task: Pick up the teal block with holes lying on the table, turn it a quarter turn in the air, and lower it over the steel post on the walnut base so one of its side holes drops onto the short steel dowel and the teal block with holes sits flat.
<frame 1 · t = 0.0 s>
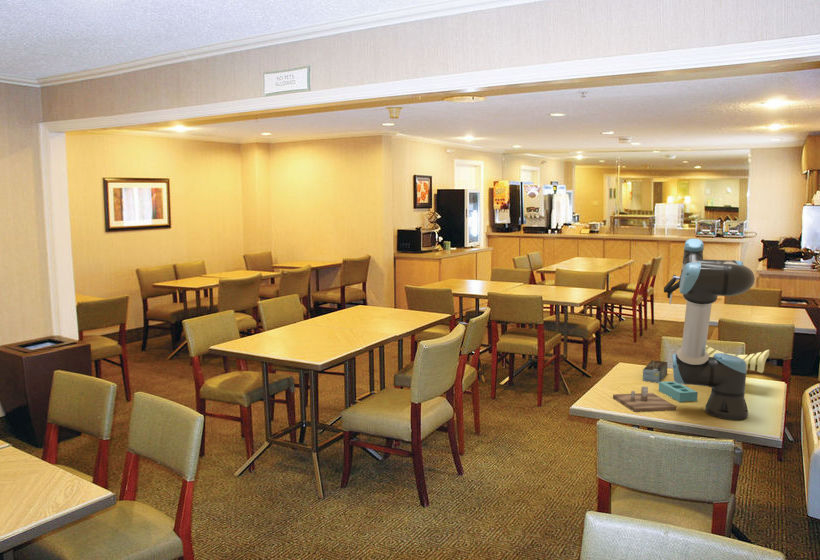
hand: (686, 303, 296), 36 cm above the table, tool tilted 35°, fingers open, 13 cm apart
post base: (643, 403, 262), on the table
teal block with holes: (677, 395, 274), on the table
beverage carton: (655, 378, 302), on the table
slatted curved stool: (725, 386, 289), on the table
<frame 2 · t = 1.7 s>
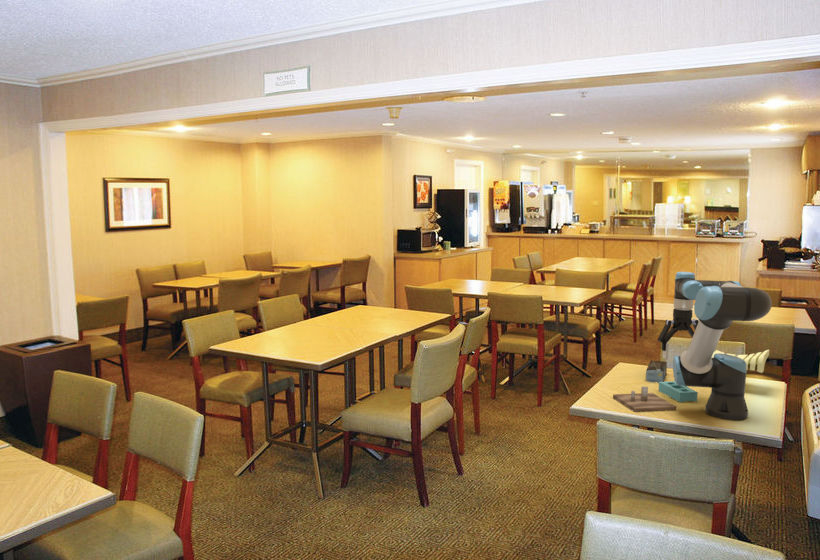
hand: (679, 357, 272), 17 cm above the table, tool pointing down, fingers open, 13 cm apart
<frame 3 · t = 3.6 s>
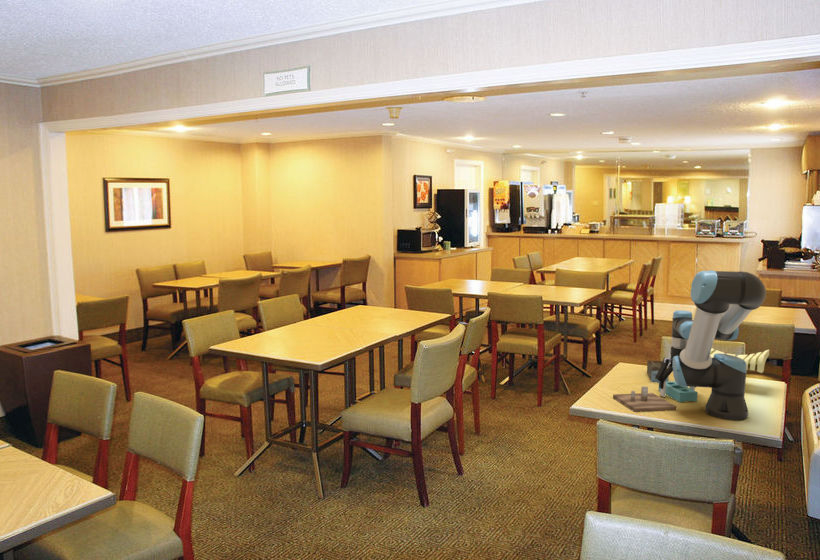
hand: (677, 395, 274), 0 cm above the table, tool pointing down, fingers open, 13 cm apart
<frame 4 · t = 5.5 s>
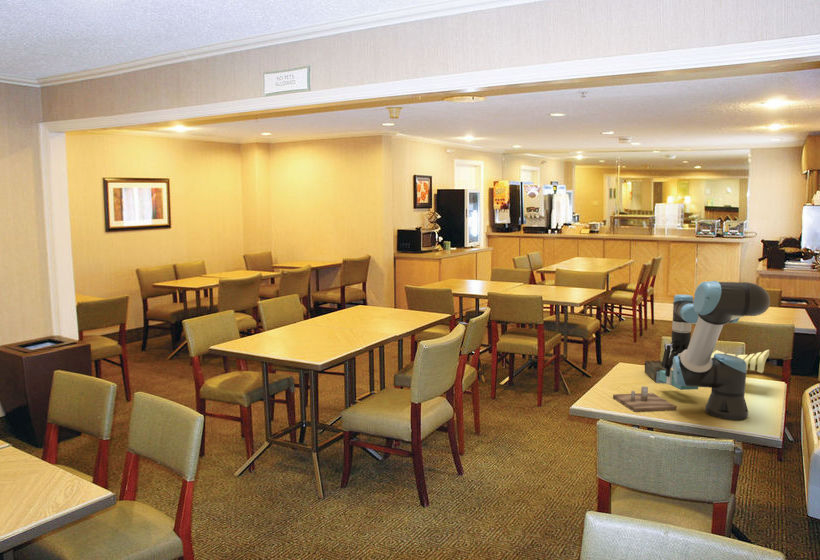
hand: (678, 383, 272), 6 cm above the table, tool pointing down, fingers closed on teal block with holes, 8 cm apart
teal block with holes: (678, 384, 272), point 5 cm above the table, touching gripper
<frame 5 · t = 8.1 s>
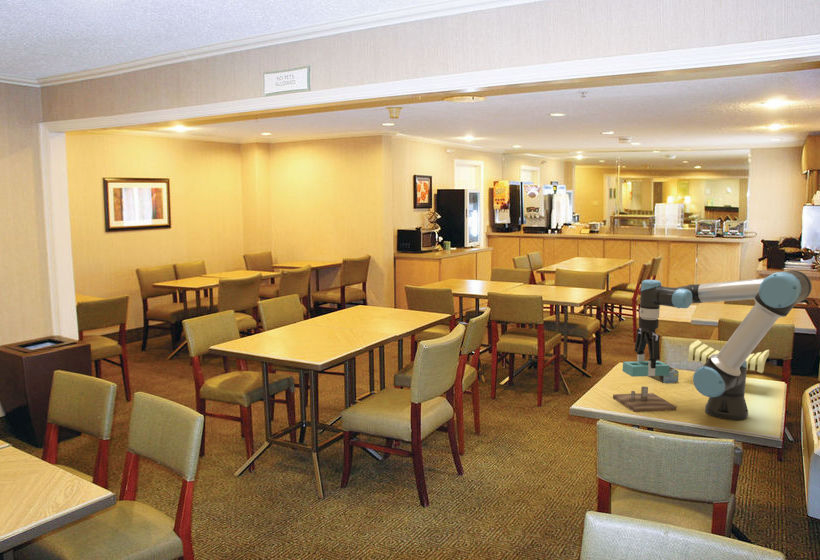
hand: (645, 372, 261), 13 cm above the table, tool pointing down, fingers closed on teal block with holes, 8 cm apart
teal block with holes: (645, 373, 261), point 13 cm above the table, touching gripper
when the fingers open (3 cm above the table, at t = 10.8 s): teal block with holes stays where it is, resting on post base.
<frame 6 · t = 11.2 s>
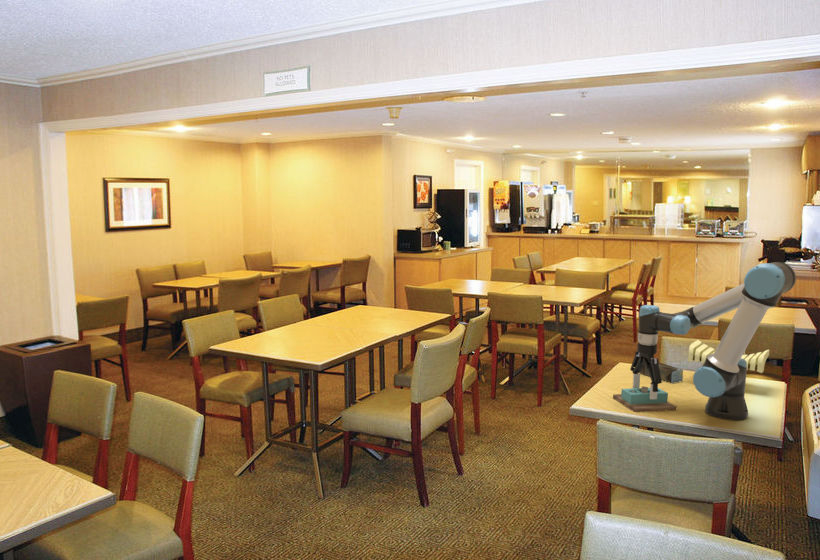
hand: (644, 394, 262), 4 cm above the table, tool pointing down, fingers open, 13 cm apart
teal block with holes: (644, 400, 262), point 1 cm above the table, touching post base
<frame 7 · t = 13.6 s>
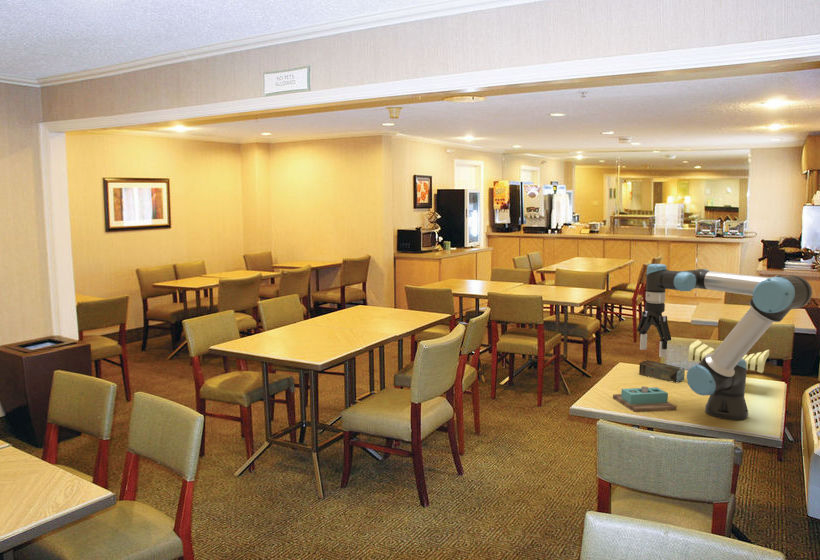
hand: (652, 353, 262), 21 cm above the table, tool pointing down, fingers open, 13 cm apart
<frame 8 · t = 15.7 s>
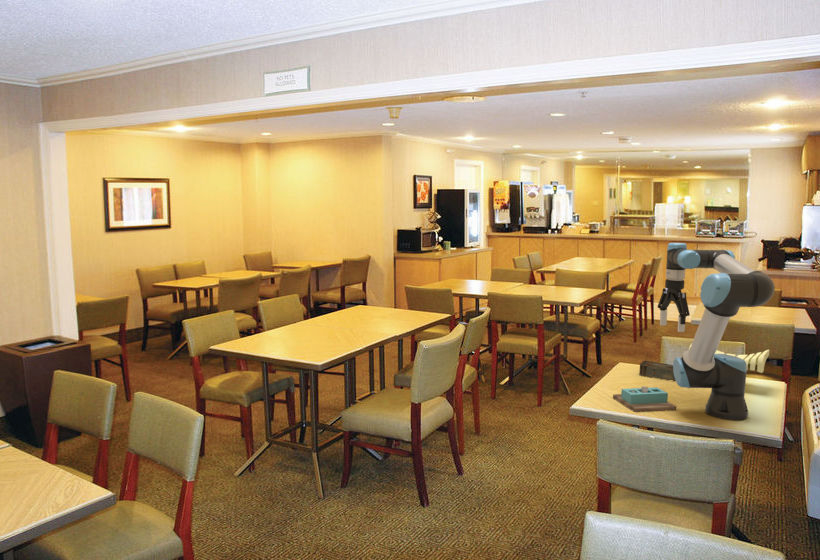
hand: (671, 328, 273), 29 cm above the table, tool pointing down, fingers open, 13 cm apart
at the end: teal block with holes 0.1 cm off-centre on the post base, point 1.5 cm above the post base's base; teal block with holes tilted 0°; the gripper is holding nothing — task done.
